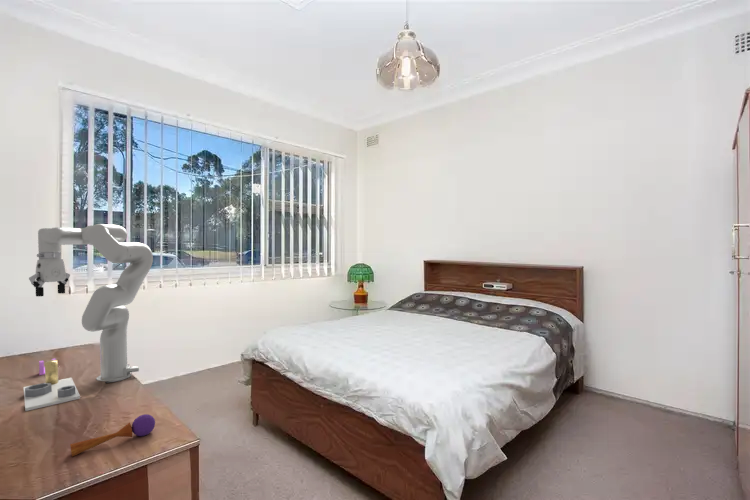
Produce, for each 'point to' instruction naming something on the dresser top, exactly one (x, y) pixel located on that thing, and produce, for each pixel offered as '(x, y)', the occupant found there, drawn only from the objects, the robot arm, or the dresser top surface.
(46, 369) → the brass pipe fitting
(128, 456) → the dresser top surface
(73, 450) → the kendama
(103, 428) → the dresser top surface
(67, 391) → the fitting board
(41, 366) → the bracket
